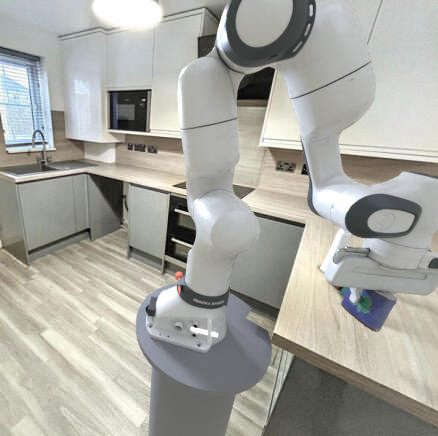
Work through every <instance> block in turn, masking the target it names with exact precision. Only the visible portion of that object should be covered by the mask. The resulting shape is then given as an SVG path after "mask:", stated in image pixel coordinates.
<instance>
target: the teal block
mask: <svg viewBox="0 0 438 436" xmlns="http://www.w3.org/2000/svg"><path fill="white" fill-rule="evenodd" d="M348 288H349V287H343V288H342V290H340V294H341V295H342V296H343V297H344V296H345V294H346V292H347V290H348Z"/></svg>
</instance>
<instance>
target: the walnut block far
mask: <svg viewBox="0 0 438 436" xmlns="http://www.w3.org/2000/svg"><path fill="white" fill-rule="evenodd" d="M333 287H334V288H335V289H336V290H337V291H341V290H342V288H343V287H341V286H334V285H333Z"/></svg>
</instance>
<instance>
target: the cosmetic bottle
mask: <svg viewBox="0 0 438 436" xmlns="http://www.w3.org/2000/svg"><path fill="white" fill-rule="evenodd" d="M351 236H352V234H350V233H348V232H346V231H345V230H343V229H341V228H340V229H338V231H337V233H336V235H335V238H334V240H333V242H332V244H331V246H330V248H329V251H328V254H327V255H326V257H325V259H324V261H323V263H322V264H321V266H320V270H321V271H322V272H323V273H324V271H325V269H326V267H327V265H328V264H329V262H330V260H331V259H332V257H333V256H334V253H335V252H336V250H339V249H341V248H344V247H345V246H349V244H350V240H351Z"/></svg>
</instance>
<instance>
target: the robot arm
mask: <svg viewBox="0 0 438 436" xmlns="http://www.w3.org/2000/svg"><path fill="white" fill-rule="evenodd" d="M220 18H221V19H220V22H219V24H218V28H217V31H216V37H215V41H214V46H213V48H212V50H211V51H210V52H209V53H208V54H206V55H205V56H201V57H198V58H196V59H194V60H192V61H191V62H189V63H188V64H187V65H186V66H185V67H184V68H183V69H182V70H181V72H180V74H179V76H178V80H177V81H178V83H177V113H178V123H179V129H180V130H179V132H180V138H181V143H182V144H181V145H182V152H183V160H184V166H185V189H186V190H185V191H186V200H187V211H188V213H189V215H190V217H191V219H192V221H193V222H194V225H195V238H194V239H195V240H194V242H193V246H192V248H191V249H190V250H189V251H188V253H187V260H186V268H185V269H186V270H185V274H183V272H182V271H176V272H175V280H176V283H177V286H174V287H172V288H169V289H167V290H164V291H162V292H161V293H160V295H159V297H151V298H150V302H149V304H148V305H147V306H146V308H145V310H146V313H147V316H146V329H147V332H148V334H149V336H150V337H152V338H155V339H158V340H161V341H164V342H168V343H171V344H175V345H178V346H181V347H185V348H188V349H191V350H195V351H198V352H201V353H207V352H208V351H209V350H210V349H211V347H212V346H213V345H215V344H217V343H219V342H220V341H222V340H223V339H224V337H225V336H226V333H227V326H226V318H225V312H226V306H227V303H228V301H229V296H230V293H231V286H230V283H231V278H232V273H233V270H234V266H235V262H236V260H237V258H238V256H239V255H241V254H242V253H245V252H246V251H247V252H248V250H250V249H251V248H252V247H253V246H254V245H255V244H256V242H257V241H258V239H259V236H260V233H261V224H260V221H259V219H258V217H257V216H256V214H255V212H254V211H253V209H252V208H251V206H250V205H248V203H247V202H246V201H244V200H242V199H241V198H240V197H239V196H237V195H236V194H235V191H234V186H233V184H234V177H235V176H234V175H235V171H236V167H237V165H238V164H239V162H240V159H241V152H240V135H239V134H240V133H239V118H238V117H239V116H238V115H239V114H238V105H237V101H238V100H237V99H238V90H239V86H240V83H241V81H242V80H243V79H245V78H246V77H249V76H250V75H253V74H254V73H257V72H259V71H262V70H263V69H265V68H269V67H270V68H272V69H274V70H276V71H277V72H278V73H279V74H280V76H281V78H282V79H283V81H284V82H285V85H286V89H287V93H288V96H289V100H290V102H291V103H290V104H291V106H292V109H293V112H294V115H295V119H296V123H297V125H298V132H299V138H300V144H301V149H302V153H303V157H304V162H305V168H306V171H307V172H306V173H307V175H308V189H307V190H308V191H307V195H306V197H307V198H306V199H307V201H306V202H307V205H308V208H309V210H310V211H311V212H312V213H313V214H314V215H316V216H317V217H320V218H323V219H324V220H326V221H328V222H330V223H331V224H332V225H335V226H336V227H338V228H340V230H341V229H343V230H345V231H346V232H348V233H350V234H351V236H354V237H357V238H360V239H365V240H364V242H363V245H362V246H361V247H359V246H350V245H348V246H345V247H344V248H341V249H339V250H336V252H335V253H334V256H333V257H332V259H331V260H330V262H329V264H328V265H327V267H326V269H325V271H324V272H323V275H324V277H325V279H326V280H327V281H328V282H329V283H330V284H331V285H332V286H333V287H334V286H341V287H350V290H351V295H350V300H351V301H352V302H353V303H359V304H361V303H362V301H363V299H364V298H363V297H362V296H360V294H359V292H362V291H363V289H368V290H377V291H386V292H387V293H389V294H391V295H393V296H394V297H396V294H403V295H404V294H406V295H414V296H423V297H427V296H429V295H431V294H433V293H434V292H435V291H436V290H437V288H438V253H437V252H435V251H433V250H431V249H430V248H431V245H432V239H433V237H434V235H435V233H436V232H438V175H434V174H429V173H426V172H421V171H415V170H404V171H402V172H400V173H399V174H398V175H397V176H395V177H393V178H391V179H388V180H385V181H383V182H379V183H374V184H370V185H367V184H364V183H361V182H358V181H355V180H354V179H352V178H351V177H349V176H348V175H347V174H346V173H345V172H344V171H345V170H344V169H343V168H344V167H343V163H342V156H341V150H340V136H341V134H342V133H343V132H344V131H345V130H347V129H348V128H351V127H352V126H354V125H355V124H356V123H357V122H359V121H360V120H361V119H362V118H363V116H365V115H366V114H367V112H368V111H369V110H370V108H371V107H372V105H373V104H374V101H375V99H376V98H375V97H376V89H377V87H376V84H377V83H376V81H377V80H376V73H375V70H374V65H373V61H372V56H371V51H370V47H369V45H368V42H367V38H366V35H365V33H364V30H363V27H362V25H361V23H360V21H359V19H358V17H357V14H356V12H355V11H354V9H353V7H352V6H351V4H350V3H349V2H348V1H347V0H324V1H323V0H322V1H321V2H318V3H317V1H316V0H228V1H227V2H226V5H225V7H224V9H223V11H222V13H221V17H220ZM150 327H151V328H150ZM199 346H200V347H199Z"/></svg>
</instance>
